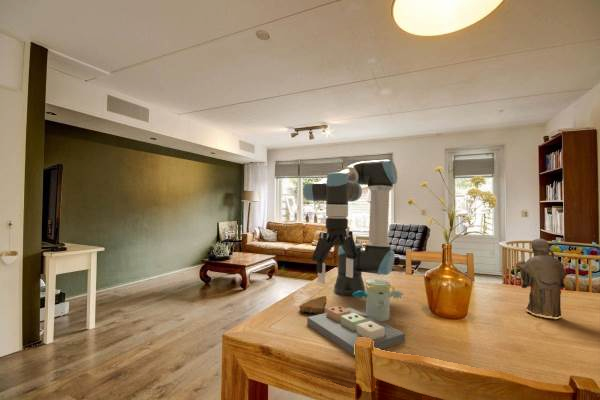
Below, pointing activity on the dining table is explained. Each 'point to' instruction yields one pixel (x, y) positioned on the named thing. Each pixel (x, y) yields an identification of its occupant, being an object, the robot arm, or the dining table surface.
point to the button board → (353, 332)
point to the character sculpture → (378, 298)
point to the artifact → (314, 305)
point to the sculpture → (543, 279)
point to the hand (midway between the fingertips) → (335, 279)
